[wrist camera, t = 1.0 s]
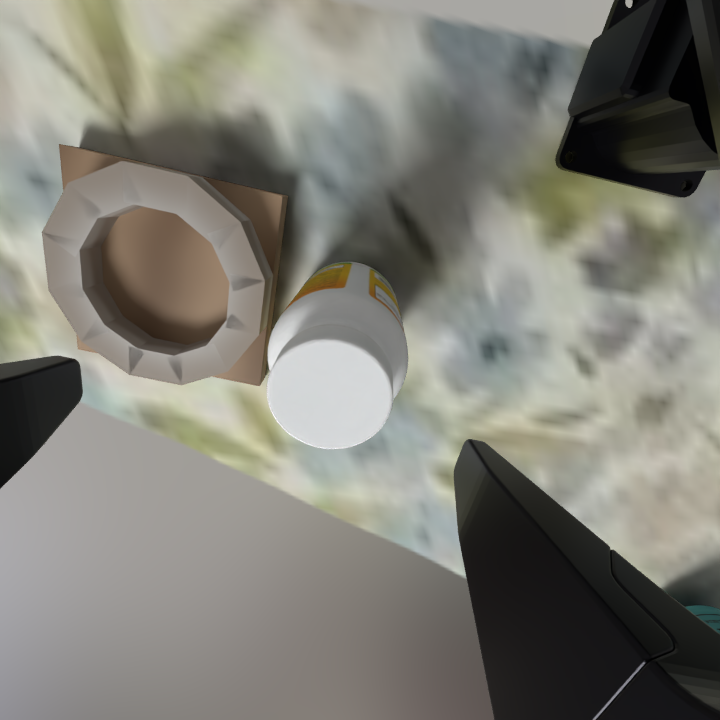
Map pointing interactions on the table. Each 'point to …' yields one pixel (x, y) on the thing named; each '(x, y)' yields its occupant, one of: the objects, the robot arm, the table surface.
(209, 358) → the collar block
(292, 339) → the supplement bottle
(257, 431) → the table surface
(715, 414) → the table surface
